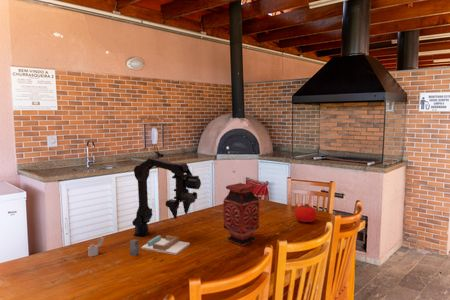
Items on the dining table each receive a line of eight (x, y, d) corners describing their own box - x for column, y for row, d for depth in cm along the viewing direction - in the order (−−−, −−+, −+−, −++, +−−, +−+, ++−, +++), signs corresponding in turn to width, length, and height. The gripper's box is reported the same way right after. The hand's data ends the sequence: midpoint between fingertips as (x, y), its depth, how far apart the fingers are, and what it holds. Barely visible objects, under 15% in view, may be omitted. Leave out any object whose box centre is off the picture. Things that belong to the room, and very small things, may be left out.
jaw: (147, 245, 172) (147, 241, 171) (158, 238, 181) (158, 235, 181) (150, 245, 171) (150, 242, 171) (160, 239, 180) (160, 235, 180)
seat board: (141, 248, 171) (141, 242, 170) (156, 239, 184) (156, 233, 183) (176, 255, 164) (176, 248, 163) (189, 244, 176) (189, 238, 176)
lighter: (89, 256, 161) (88, 240, 160) (88, 255, 162) (87, 239, 161) (104, 253, 165) (103, 237, 164) (103, 252, 166) (102, 236, 165)
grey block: (130, 255, 163) (129, 241, 162) (134, 252, 166) (133, 239, 165) (135, 256, 162) (135, 242, 161) (139, 253, 165) (138, 239, 164)
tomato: (318, 221, 216) (318, 204, 215) (311, 226, 206) (312, 209, 205) (298, 217, 224) (298, 201, 222) (291, 222, 213) (291, 206, 212)
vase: (240, 234, 192) (241, 182, 189) (259, 241, 182) (260, 186, 179) (222, 240, 182) (223, 185, 179) (241, 248, 172) (242, 190, 169)
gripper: (182, 192, 165) (182, 223, 167) (203, 185, 181) (203, 214, 183) (164, 189, 171) (164, 219, 172) (186, 183, 187) (186, 211, 189)
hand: (180, 216), depth 179 cm, fingers open, 9 cm apart
